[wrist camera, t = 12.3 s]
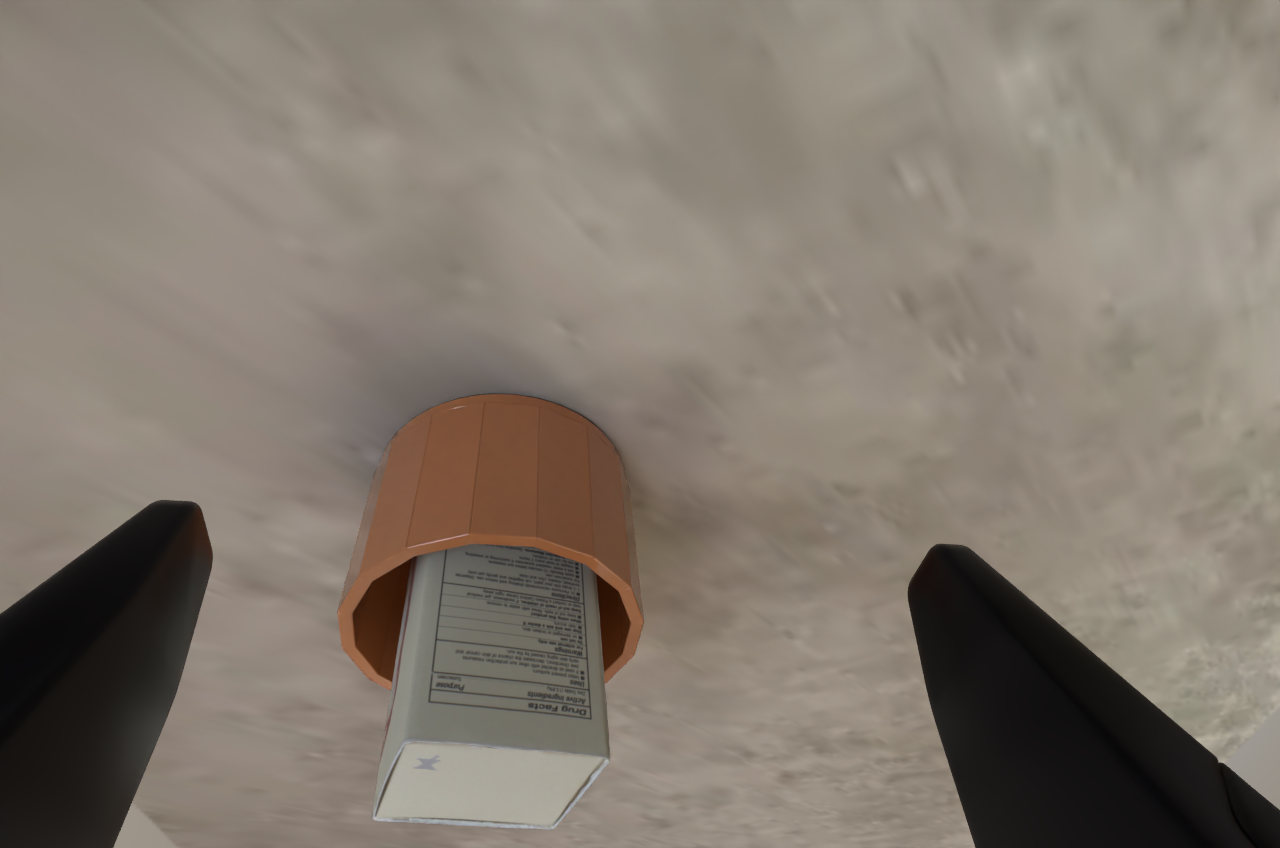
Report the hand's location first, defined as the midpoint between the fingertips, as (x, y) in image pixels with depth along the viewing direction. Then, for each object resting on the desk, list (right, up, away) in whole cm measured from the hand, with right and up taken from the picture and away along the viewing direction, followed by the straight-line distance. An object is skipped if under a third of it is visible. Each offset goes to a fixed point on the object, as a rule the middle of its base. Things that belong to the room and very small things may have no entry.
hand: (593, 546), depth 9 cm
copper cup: (-4, -1, +17) cm, 18 cm away
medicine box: (-4, -1, +17) cm, 17 cm away
